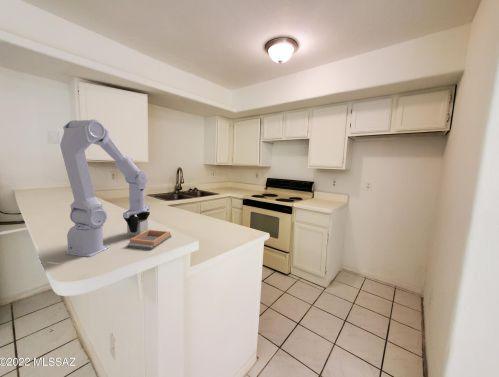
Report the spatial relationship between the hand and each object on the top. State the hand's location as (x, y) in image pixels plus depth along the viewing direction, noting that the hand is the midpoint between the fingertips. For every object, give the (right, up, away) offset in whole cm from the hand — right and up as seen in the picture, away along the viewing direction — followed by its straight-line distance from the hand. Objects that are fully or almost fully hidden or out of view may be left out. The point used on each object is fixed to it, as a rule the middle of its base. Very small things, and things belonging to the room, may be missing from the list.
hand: (137, 230), depth 89 cm
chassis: (+9, -3, -8) cm, 12 cm away
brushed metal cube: (0, -2, 0) cm, 2 cm away
